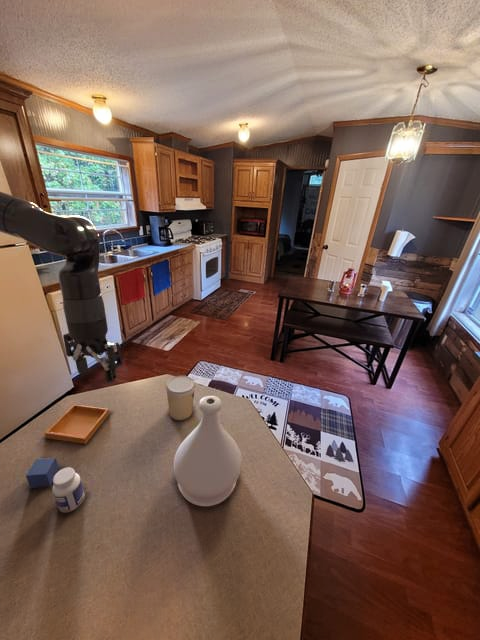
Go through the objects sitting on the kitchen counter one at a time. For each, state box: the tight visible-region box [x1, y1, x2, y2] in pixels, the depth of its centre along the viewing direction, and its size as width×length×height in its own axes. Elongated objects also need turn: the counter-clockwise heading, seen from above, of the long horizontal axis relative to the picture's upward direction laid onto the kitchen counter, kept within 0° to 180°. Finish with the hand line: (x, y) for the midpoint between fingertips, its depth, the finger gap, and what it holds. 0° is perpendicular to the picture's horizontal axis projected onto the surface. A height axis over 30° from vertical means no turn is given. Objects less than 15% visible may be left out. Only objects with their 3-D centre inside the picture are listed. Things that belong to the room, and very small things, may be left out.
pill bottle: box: [52, 467, 86, 513], centre depth 57 cm, size 5×5×9 cm
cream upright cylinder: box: [165, 375, 196, 421], centre depth 85 cm, size 9×9×12 cm
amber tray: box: [44, 403, 111, 445], centre depth 79 cm, size 12×12×2 cm
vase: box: [173, 395, 243, 507], centre depth 62 cm, size 17×17×25 cm
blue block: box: [25, 457, 60, 489], centre depth 63 cm, size 4×4×4 cm
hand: (97, 376), depth 61 cm, fingers open, 8 cm apart
